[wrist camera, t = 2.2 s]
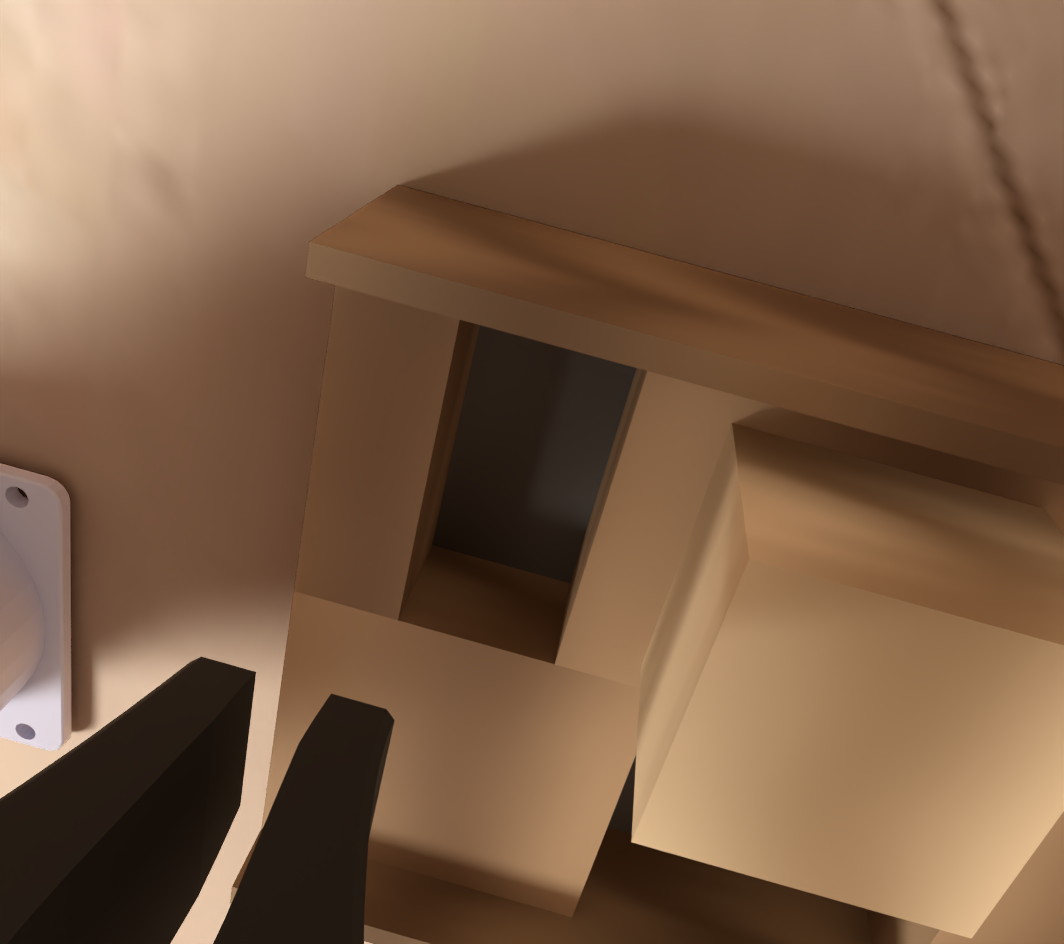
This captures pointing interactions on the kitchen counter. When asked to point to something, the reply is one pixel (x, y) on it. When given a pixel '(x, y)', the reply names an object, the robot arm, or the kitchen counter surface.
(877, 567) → the maple block
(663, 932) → the box
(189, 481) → the kitchen counter surface
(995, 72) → the kitchen counter surface
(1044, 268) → the kitchen counter surface
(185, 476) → the kitchen counter surface
